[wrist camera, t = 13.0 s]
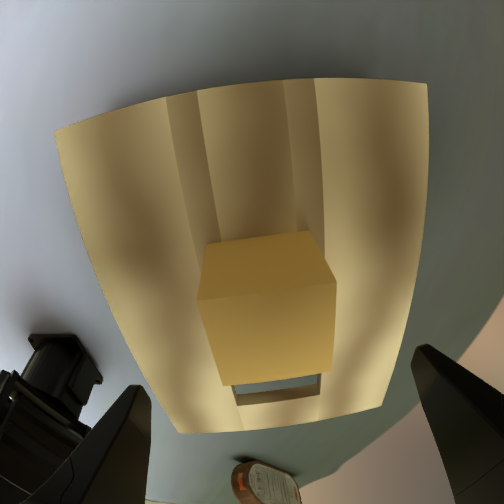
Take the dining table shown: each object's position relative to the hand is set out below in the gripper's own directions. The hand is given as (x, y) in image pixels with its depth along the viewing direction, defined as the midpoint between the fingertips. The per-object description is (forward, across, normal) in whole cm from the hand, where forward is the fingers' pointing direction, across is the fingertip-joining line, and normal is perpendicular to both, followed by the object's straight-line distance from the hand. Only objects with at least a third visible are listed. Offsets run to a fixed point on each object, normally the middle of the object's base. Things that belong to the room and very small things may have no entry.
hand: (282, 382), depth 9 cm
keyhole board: (+12, 0, +2) cm, 12 cm away
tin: (+12, +3, +39) cm, 41 cm away
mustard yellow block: (+9, 0, 0) cm, 9 cm away
